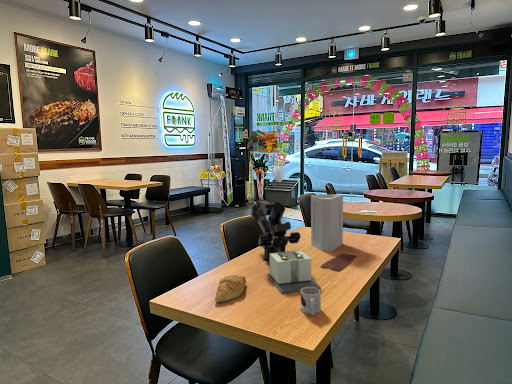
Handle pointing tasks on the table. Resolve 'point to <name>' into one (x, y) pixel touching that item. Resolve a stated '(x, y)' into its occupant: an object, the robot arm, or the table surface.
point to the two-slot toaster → (290, 267)
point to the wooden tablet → (339, 262)
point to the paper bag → (327, 221)
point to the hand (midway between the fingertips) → (283, 255)
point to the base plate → (293, 285)
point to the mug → (310, 300)
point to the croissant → (230, 288)
